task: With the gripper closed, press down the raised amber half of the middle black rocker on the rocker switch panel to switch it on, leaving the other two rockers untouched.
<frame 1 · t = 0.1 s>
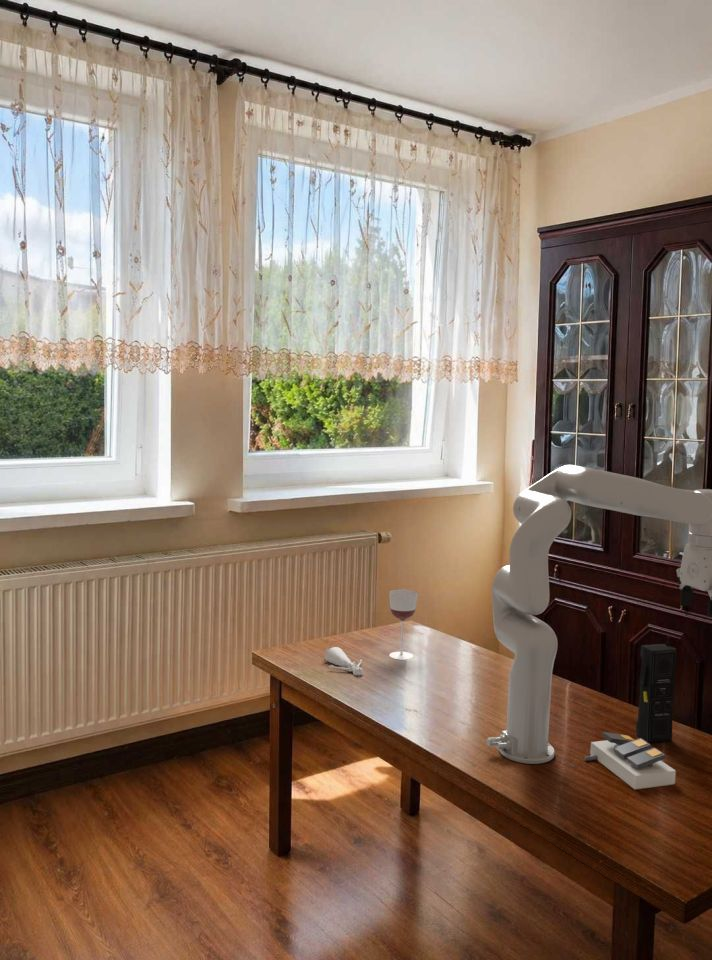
hand: (699, 610, 202), 31 cm above the table, tool pointing down, fingers open, 9 cm apart
rocker switch panel: (630, 768, 186), on the table
rocker near arm: (618, 740, 190), point 4 cm above the table, hinge at 13.0°
rocker middle: (632, 749, 186), point 4 cm above the table, hinge at -13.0°
rocker far end: (646, 759, 181), point 4 cm above the table, hinge at -13.0°
portable radio: (652, 738, 203), on the table
wineglass: (401, 656, 259), on the table
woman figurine: (344, 668, 248), on the table
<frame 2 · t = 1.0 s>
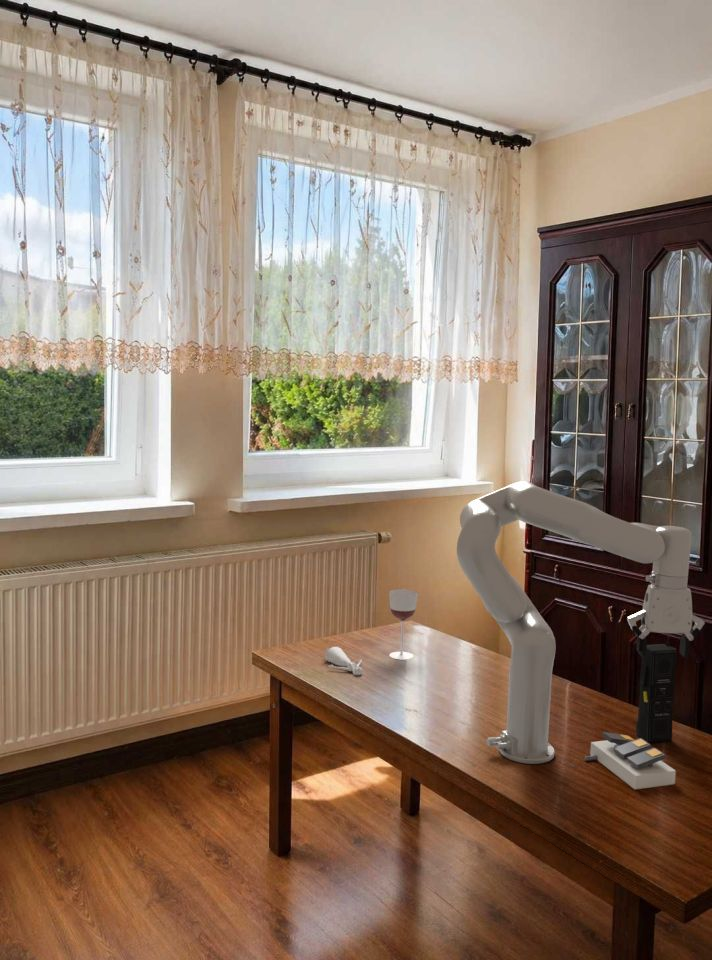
hand: (662, 655, 190), 24 cm above the table, tool pointing down, fingers open, 9 cm apart
nothing on the table moved.
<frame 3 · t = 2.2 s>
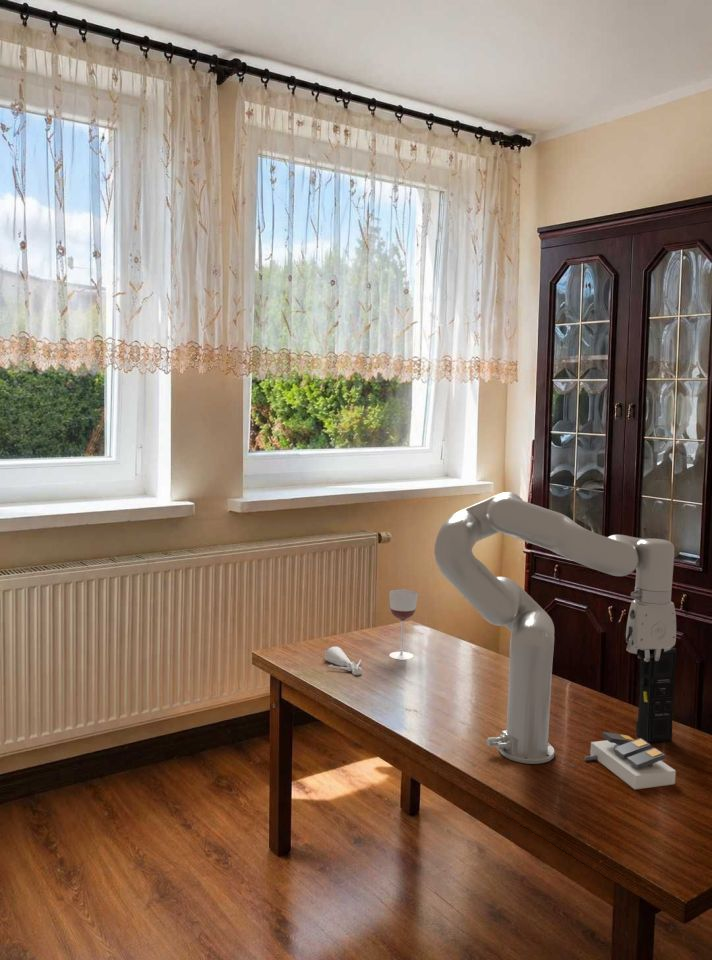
hand: (647, 676, 184), 21 cm above the table, tool pointing down, fingers closed
nothing on the table moved.
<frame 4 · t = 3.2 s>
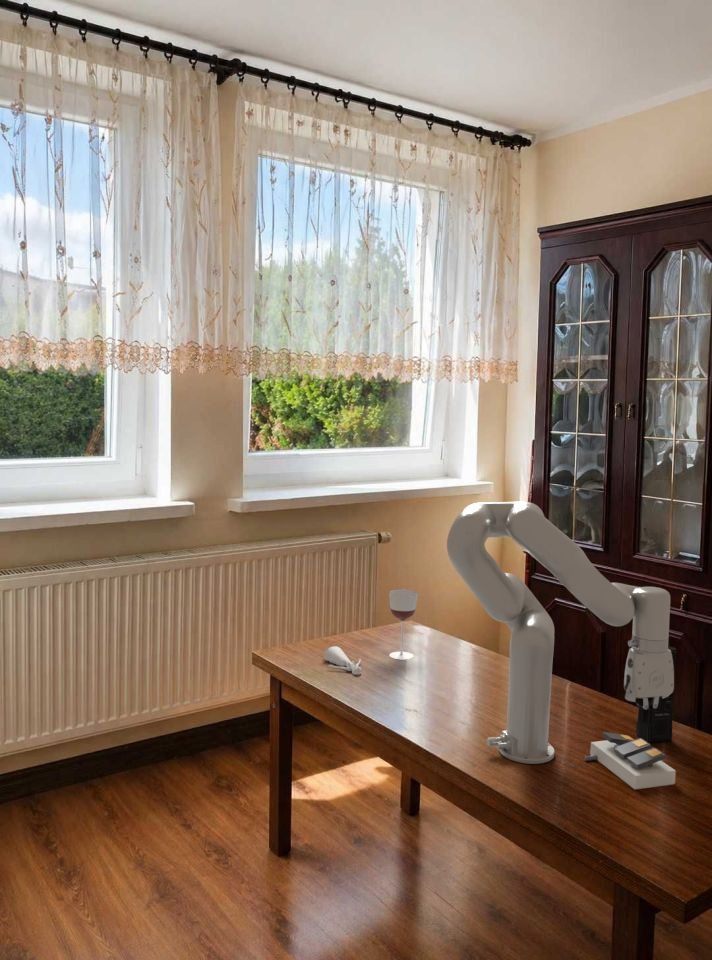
hand: (646, 723, 186), 10 cm above the table, tool pointing down, fingers closed
nothing on the table moved.
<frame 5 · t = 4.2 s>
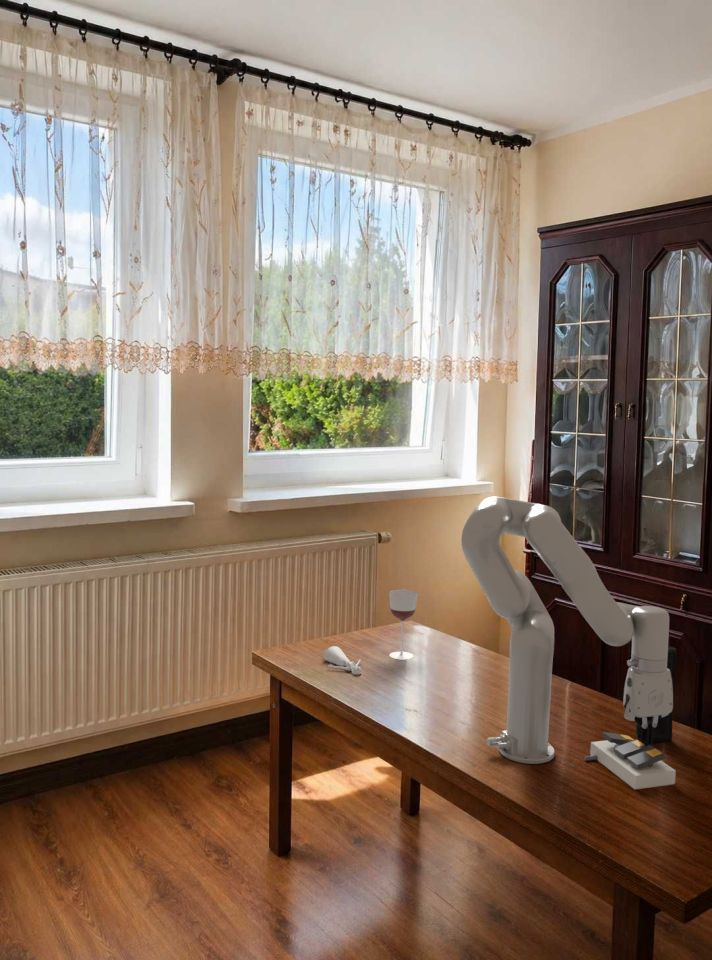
hand: (645, 742, 186), 6 cm above the table, tool pointing down, fingers closed
rocker middle: (632, 749, 186), point 4 cm above the table, hinge at -12.8°, touching gripper
everything else where it was.
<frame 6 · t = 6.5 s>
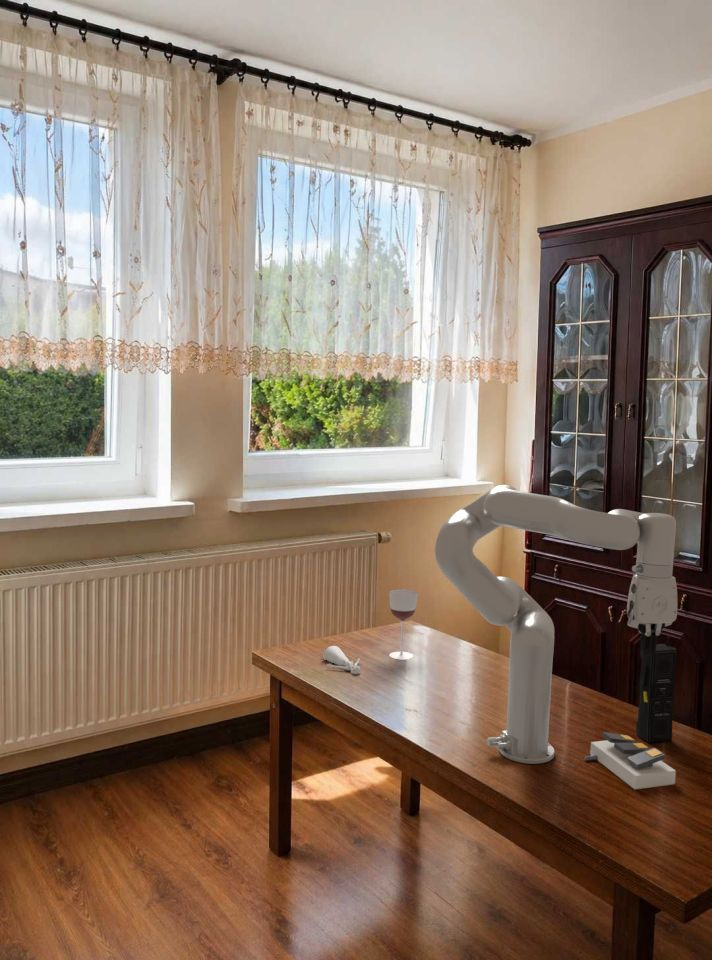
hand: (647, 651, 184), 27 cm above the table, tool pointing down, fingers closed
rocker middle: (632, 749, 186), point 4 cm above the table, hinge at 5.5°
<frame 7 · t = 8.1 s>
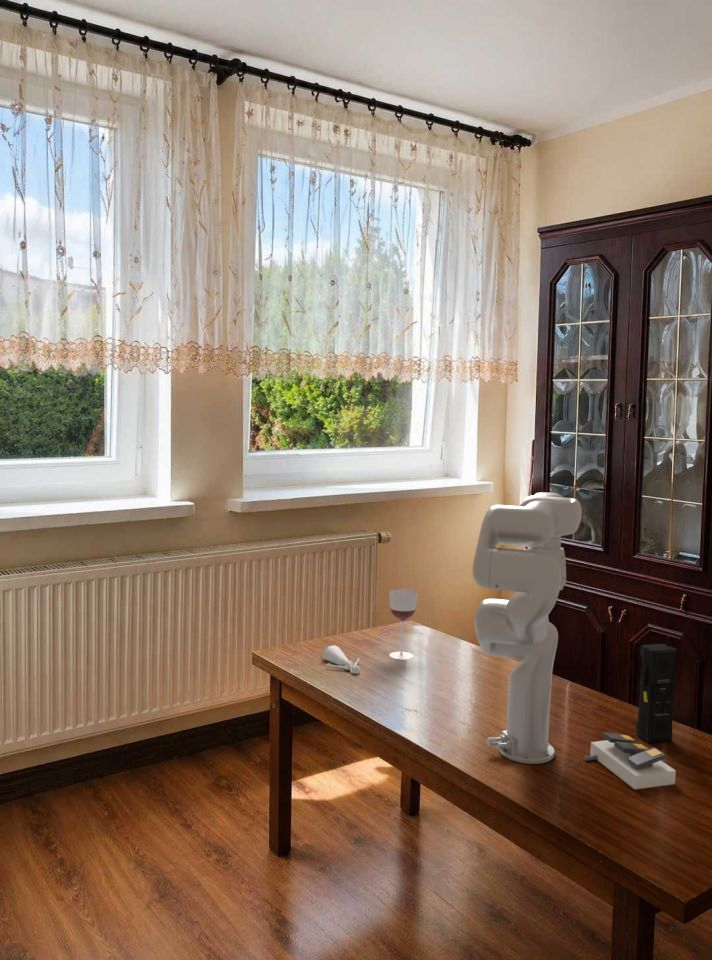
hand: (541, 613, 210), 27 cm above the table, tool pointing down, fingers closed
rocker middle: (632, 749, 186), point 4 cm above the table, hinge at 10.9°
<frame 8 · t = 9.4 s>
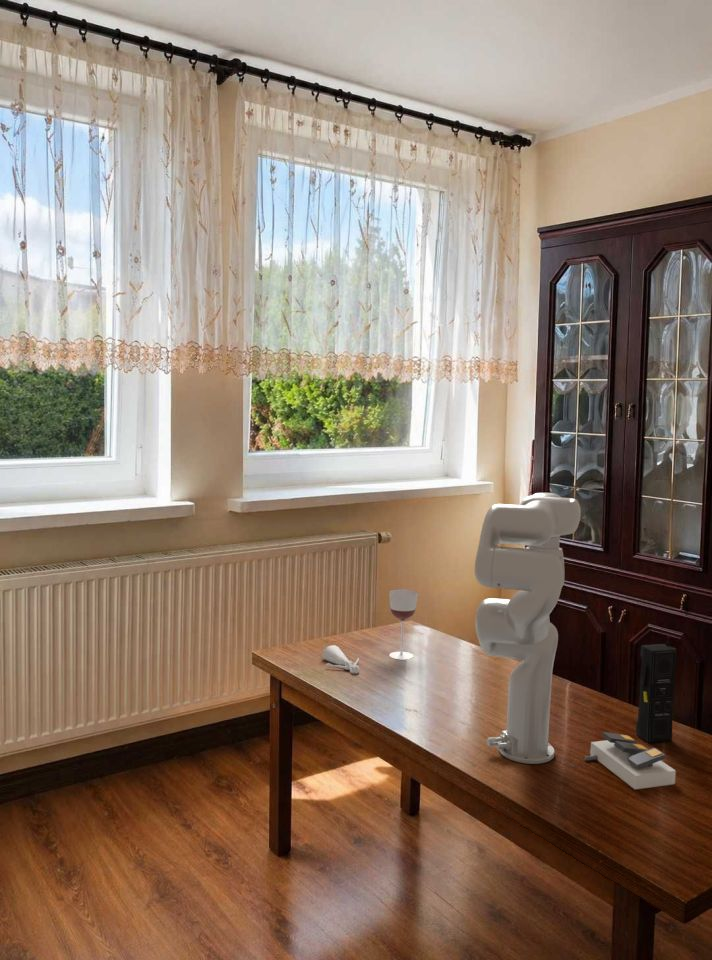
hand: (540, 614, 210), 27 cm above the table, tool pointing down, fingers closed
rocker middle: (632, 749, 186), point 4 cm above the table, hinge at 13.0°
at the end: rocker middle at +13° (first picture: -13°); rocker near arm at +13° (first picture: +13°); rocker far end at -13° (first picture: -13°) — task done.
